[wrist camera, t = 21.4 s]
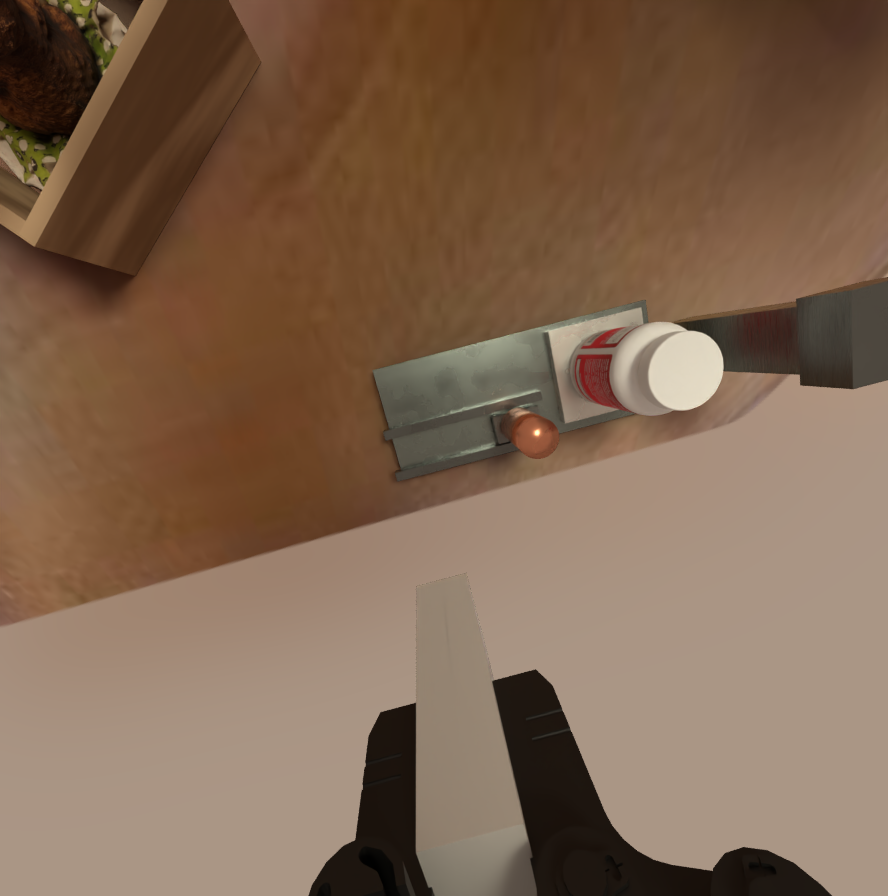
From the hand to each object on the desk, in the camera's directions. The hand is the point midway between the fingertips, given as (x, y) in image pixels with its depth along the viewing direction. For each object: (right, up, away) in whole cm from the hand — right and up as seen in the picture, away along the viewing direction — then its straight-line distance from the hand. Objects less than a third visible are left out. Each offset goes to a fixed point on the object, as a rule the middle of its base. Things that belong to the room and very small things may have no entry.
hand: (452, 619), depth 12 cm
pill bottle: (+13, +12, +23) cm, 29 cm away
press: (+9, +11, +25) cm, 29 cm away
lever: (+6, +7, +24) cm, 26 cm away
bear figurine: (-29, +32, +19) cm, 47 cm away
